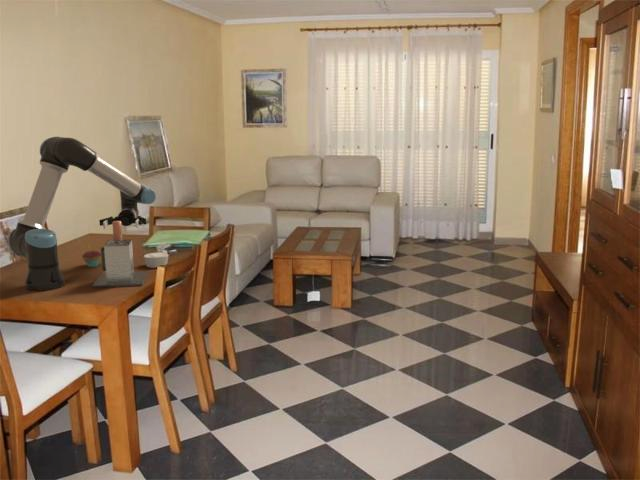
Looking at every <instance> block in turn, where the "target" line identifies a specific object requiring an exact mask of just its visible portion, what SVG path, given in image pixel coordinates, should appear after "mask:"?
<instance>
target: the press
mask: <svg viewBox="0 0 640 480" xmlns="http://www.w3.org/2000/svg"><path fill="white" fill-rule="evenodd" d="M100 254H101V258H100V259H101V269H102V271H103V272H104V273H99V275H98V276H97V277H96V280H95V281H94V283H93V284H92V286H91V287H92V289H101V288H103V289H105V288H123V287H124V288H126V287H142V286H143V285H144V283H145V280H146V278H147V275H148V271H135V266H134V253H133V239H123V240H121V241H120V243H117V241H114V239H110V240H106V242H105V243H104V245H103V246H101V247H100Z"/></svg>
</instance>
